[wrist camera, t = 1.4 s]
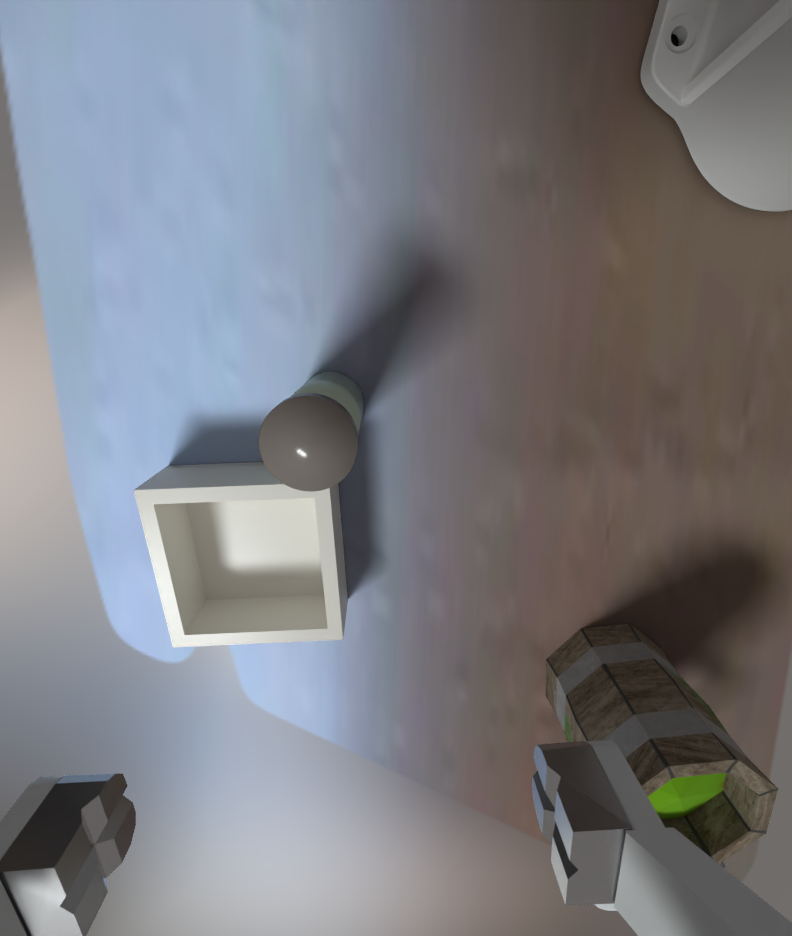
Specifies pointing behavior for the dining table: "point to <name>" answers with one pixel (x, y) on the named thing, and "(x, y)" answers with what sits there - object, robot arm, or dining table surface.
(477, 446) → the dining table surface
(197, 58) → the dining table surface
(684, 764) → the mug
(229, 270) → the dining table surface
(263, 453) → the spice jar
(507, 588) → the dining table surface
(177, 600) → the bin
